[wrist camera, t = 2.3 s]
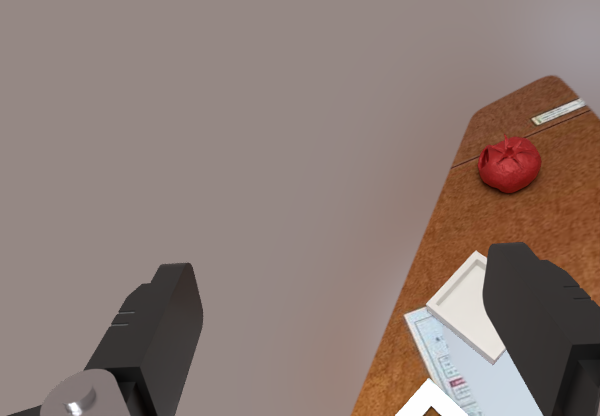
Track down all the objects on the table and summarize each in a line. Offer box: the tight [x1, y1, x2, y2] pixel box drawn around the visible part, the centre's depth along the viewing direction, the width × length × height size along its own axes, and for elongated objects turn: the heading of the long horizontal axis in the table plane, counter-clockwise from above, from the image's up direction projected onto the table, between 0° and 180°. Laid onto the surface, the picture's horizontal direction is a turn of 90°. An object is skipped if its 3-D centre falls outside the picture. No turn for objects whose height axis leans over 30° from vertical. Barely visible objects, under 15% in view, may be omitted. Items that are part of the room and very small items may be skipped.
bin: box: [426, 251, 506, 365], centre depth 64 cm, size 12×12×4 cm
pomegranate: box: [478, 134, 541, 193], centre depth 72 cm, size 10×10×9 cm
